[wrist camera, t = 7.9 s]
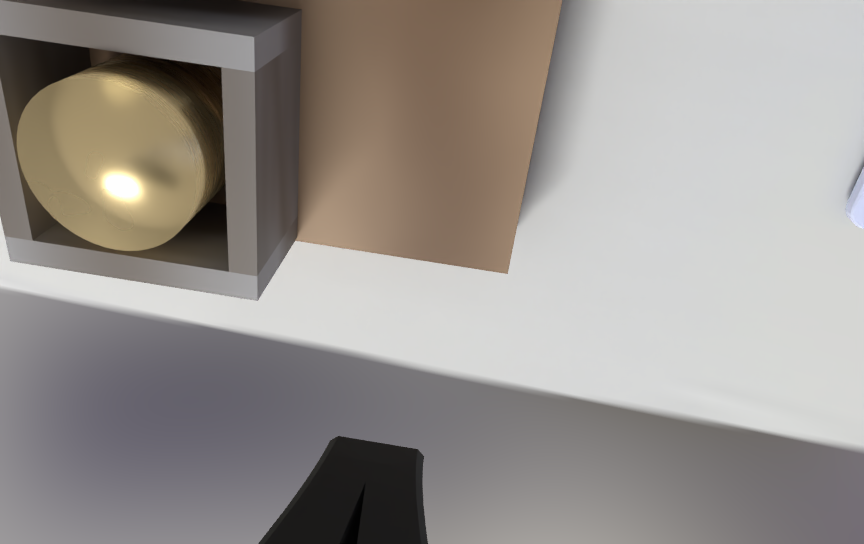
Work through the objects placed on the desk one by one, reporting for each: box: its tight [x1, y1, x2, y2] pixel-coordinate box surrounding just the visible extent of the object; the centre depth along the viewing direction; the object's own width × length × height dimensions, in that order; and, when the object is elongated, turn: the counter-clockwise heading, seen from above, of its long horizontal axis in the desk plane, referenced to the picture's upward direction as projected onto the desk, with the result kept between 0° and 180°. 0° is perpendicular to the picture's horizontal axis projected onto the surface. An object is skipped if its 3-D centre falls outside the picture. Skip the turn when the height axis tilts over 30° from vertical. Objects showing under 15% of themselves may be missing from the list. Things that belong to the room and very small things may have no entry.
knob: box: [17, 53, 226, 251], centre depth 14 cm, size 3×3×3 cm
